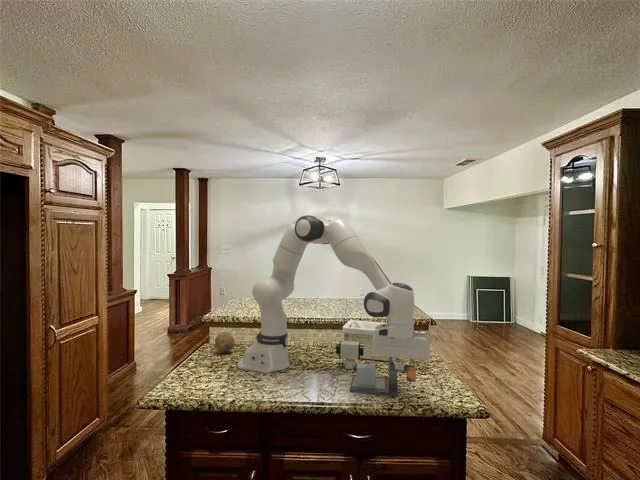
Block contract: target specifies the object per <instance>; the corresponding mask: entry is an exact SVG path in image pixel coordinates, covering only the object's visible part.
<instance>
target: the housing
mask: <svg viewBox="0 0 640 480" xmlns="http://www.w3.org/2000/svg"><path fill="white" fill-rule="evenodd" d="M356 375H357V380H356V384H367V385H375V383H376V377H377V364H374V363H372V364H371V363H363V362H362V363H361V362H358V363H356Z"/></svg>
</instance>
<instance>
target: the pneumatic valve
mask: <svg viewBox="0 0 640 480" xmlns="http://www.w3.org/2000/svg"><path fill="white" fill-rule="evenodd" d="M335 354H336V355H338V356H339V357H338V359H344V360H343V367H344V368H345V369H346V370H347V369H348V370H354V369H355V368H357V361H356V360H360V357H361V356H364V346H363V345H362V344H361V342H355V341H351V340H349V341H344V340H340V341H339V343H336V345H335Z"/></svg>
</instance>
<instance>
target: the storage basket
mask: <svg viewBox="0 0 640 480" xmlns="http://www.w3.org/2000/svg"><path fill="white" fill-rule="evenodd" d="M386 323H387V322H383V321H382V322H381V321H380V322H379V321H368V320H367V321H366V320H356V319H349V321H347V322H346V323H345V324H344V325H343V326H342V334H343V341H349V340H351V341H355V342H361V344H362V345H363V346H364V356H361V357H360V359H361V360H363V359H365V360H372V361H375V360H376V361H385V362H389V357H387V356H376V355H372V353H371V344H372V339H373V336H374V334H375V328H376V326H377V325H381V324H386ZM360 359H359V360H360Z"/></svg>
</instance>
